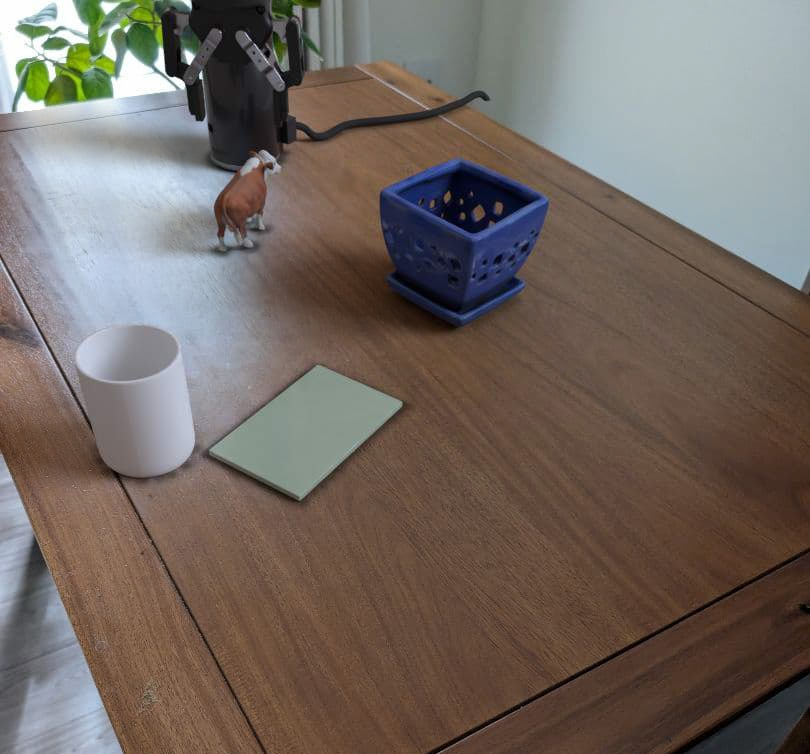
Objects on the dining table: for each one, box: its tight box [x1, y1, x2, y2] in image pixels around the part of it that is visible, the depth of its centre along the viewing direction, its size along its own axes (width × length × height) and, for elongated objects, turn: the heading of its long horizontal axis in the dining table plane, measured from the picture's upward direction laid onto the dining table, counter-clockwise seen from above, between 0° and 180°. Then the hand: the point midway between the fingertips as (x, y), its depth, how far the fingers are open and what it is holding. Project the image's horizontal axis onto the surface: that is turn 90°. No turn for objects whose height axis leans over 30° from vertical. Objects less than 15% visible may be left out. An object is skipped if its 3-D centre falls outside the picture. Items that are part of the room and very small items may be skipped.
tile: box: [208, 364, 403, 502], centre depth 79 cm, size 16×10×1 cm, turn 147°
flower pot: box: [379, 157, 550, 328], centre depth 91 cm, size 13×13×12 cm
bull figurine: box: [213, 150, 282, 253], centre depth 100 cm, size 4×13×8 cm, turn 161°
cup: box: [73, 322, 196, 479], centre depth 73 cm, size 8×12×10 cm
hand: (239, 121), depth 94 cm, fingers open, 8 cm apart
